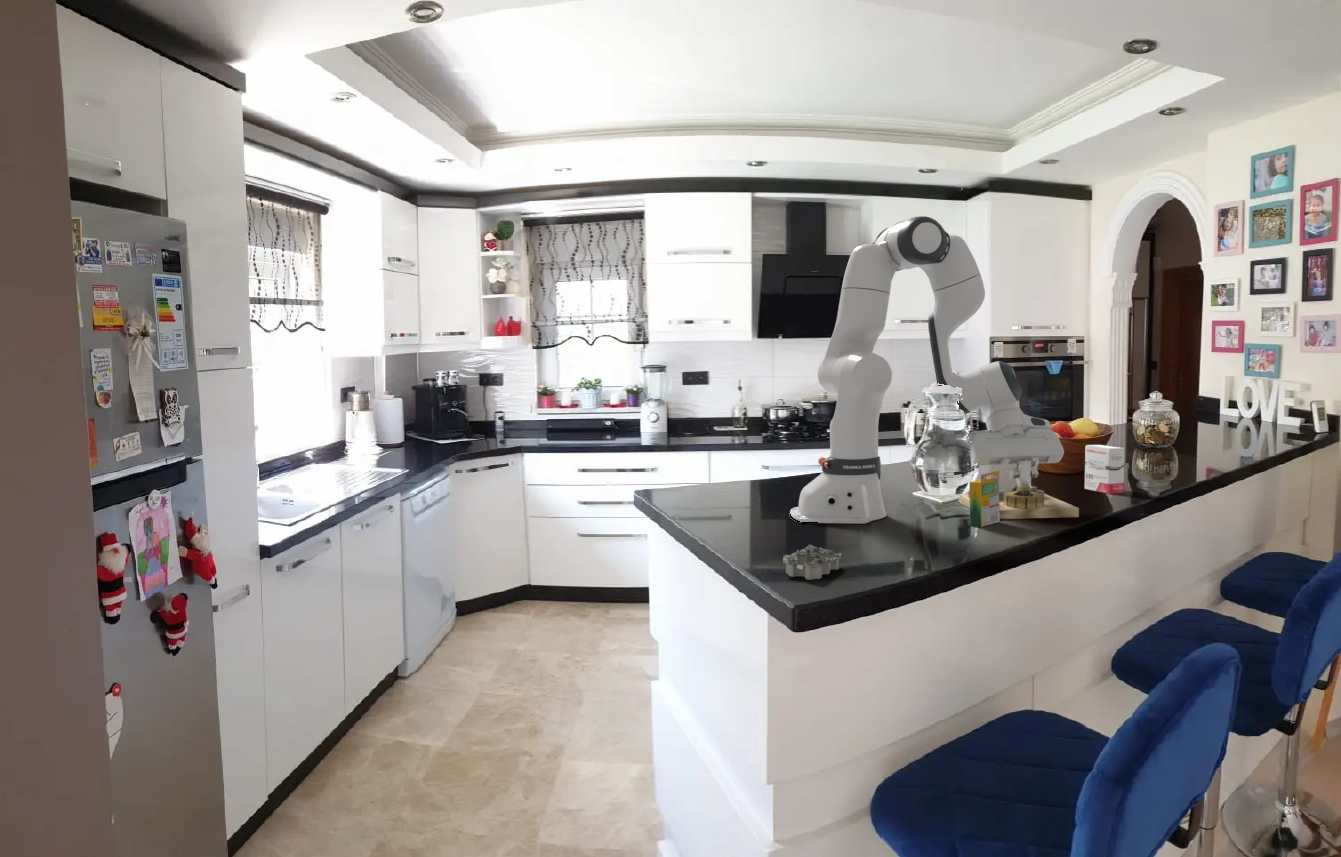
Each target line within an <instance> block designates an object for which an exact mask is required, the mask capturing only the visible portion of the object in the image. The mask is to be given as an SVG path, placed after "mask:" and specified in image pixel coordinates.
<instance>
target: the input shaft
mask: <svg viewBox="0 0 1341 857" xmlns="http://www.w3.org/2000/svg"><path fill="white" fill-rule="evenodd" d="M1016 468H1017V469H1018V472H1019V476H1018V478H1016V491H1017V496H1031V486H1032V478H1031V468H1032V467H1031V460H1017V464H1016Z"/></svg>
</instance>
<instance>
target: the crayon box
mask: <svg viewBox="0 0 1341 857" xmlns="http://www.w3.org/2000/svg"><path fill="white" fill-rule="evenodd" d="M989 476H992V477H989ZM968 484H969V492H970V509H969V520H970V521H969V525H970V527H977V528H984V527H987V526H990V525H993V524H997V523H1000V522H1001V521H1000V520H1001V519H1000V512H999V488H1000V470H995V471H991V472H987V473H982V474H980V479H978V480H973V481H970V482H969V483H968Z"/></svg>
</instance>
